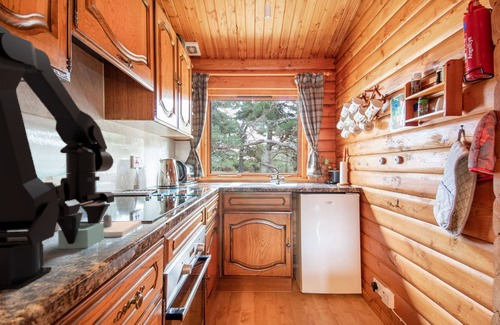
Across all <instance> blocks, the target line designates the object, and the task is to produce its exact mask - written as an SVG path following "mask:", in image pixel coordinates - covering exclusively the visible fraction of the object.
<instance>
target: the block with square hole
mask: <svg viewBox="0 0 500 325" xmlns="http://www.w3.org/2000/svg"><path fill="white" fill-rule="evenodd" d="M57 233H58V235H57V236H58V237H57V239H58V242H57V243H58V244H57V245H58V250H64V249H66V250H67V249H89V248H90V247H93V246H94V245H95V244H97V243H100V242H102V241H103V240H104V238H105V237H104V225H103V223H90V224H88V223H80V225H79V229H78V232H77V236H76V239H75V242H74V244H68V243H67V240H66V238H65V236H64V234H63V232H62V230H61V229H60V230H59V229H58V230H57Z"/></svg>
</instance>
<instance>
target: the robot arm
mask: <svg viewBox="0 0 500 325" xmlns="http://www.w3.org/2000/svg"><path fill="white" fill-rule="evenodd" d="M51 64H52V63H51V60H50V58H49V56H48V54H47V53H46V51H43V50H41V49H40V48H36V47H35V46H34V43H33V42H32V41H29V40H28V39H25V38H22V37H20V36H17V35H16V34H13V33H12V32H10V31H9V29H7V28H6V27H5V26H4V25H1V24H0V289H20V288H23V287H24V286H26V285H28V284H30V283H31V282H33V281H34V280H36V279H38V278H40V277H42V276H43V275H46V274H47V273H49V272H51V271H52V267H51V266H44V263H45V262H44V243H43V242H44V241H46V240H49V239H51V238H53V237H54V236H55V234H56V233H55V232H56V231H55V228H56V224H57V223H58V224H59V226H60V228H59V229H60V230H62V232H63V234H64V236H65V238H66V240H67V243H68V244H74V242H75V239H76V236H77V232H78V229H79V225H80V224H81V221H82V217H83V214H84V213H83V212H79V210H80V208H82V209H83V211H85V213H86V219H87V224H90V223H100V222H102V221H103V217H104V215H106V214H105V213H106V212H107V210H108V208H109V207H110V205H111V203H114V202H115V195H114V193H113V192H112V191H97V187H96V185H97V184H96V182H98V181H100V176H96V175H97V174H96V173H99V172H100V173H101V172H107V171H109V170H110V169H111V168H112V167H113V165H114V159H113V156H112V155H111V153H109V152H107V149H108V146H107V143H106V141H105V138H104V136H103V132H102V130H101V127H100V126H99V125H98V123H97V122H96V121H95V119H94V118H93V117H92V116H91V115H90V114H88V113H86V112H85V111H83V110H81V109H80V108H79V107H78V105H77V104H76V102H75V100H74V99H73V98H72V96H71V94H70V93H69V91H68V90H67V89H66V87H65V85H64V84H63V83H62V81H61V79H60V78H59V76H58V74H56V71H55V70H54V69H53V67H52V65H51ZM21 80H23V81H24V82H25V83H26V85H27V86H28V87H29V88H30V89H31V91H32V92H33V93H34V94H35V96H36V97H37V98H38V100H39V101H40V102H41V103H42V105H43V106H44V107H45V108H46V110H47V112H48V113H50V114H51V116H52V117H53V119H54V121H55V127H54V128H55V132H56V133H57V135H59V138H60V139H61V141H62V142H63V143H64V144H66V145H65V146H63V147H62V148H61V149H60V151H59V152H60V154H65V165H66V166H65V167H66V168H65V173H66V176H65V177H62V178H61V179H60V180H59V181H60V184H59V185H55V184H54V182H52V181H50V182H49V181H47V182H46V181H45V182H44V181H43V180H41V178H39V177H38V175H37V171H36V166H35V163H34V159H33V158H34V157H33V154H32V151H31V146H30V143H29V138H28V134H27V129H26V127H25V121H24V118H23V114H22V109H21V106H20V102H19V98H18V93H17V88H18V87H19V84H20V83H21ZM27 230H28V231H27Z"/></svg>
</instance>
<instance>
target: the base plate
mask: <svg viewBox="0 0 500 325" xmlns="http://www.w3.org/2000/svg"><path fill="white" fill-rule="evenodd" d="M112 218H113V217H112V215H111V214H108V213H106V214H104V216H103V218H102V221H101V222H100V223H103V225H104V238H111V237H125V235H127V234H129V233H130V232H132V231H134V230H135V229H137V228H139V227H140V226H142V220H130V221H129V220H126V221H125V220H124V221H123V220H120V221H119V220H118V221H117V220H115V221H112Z"/></svg>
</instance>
